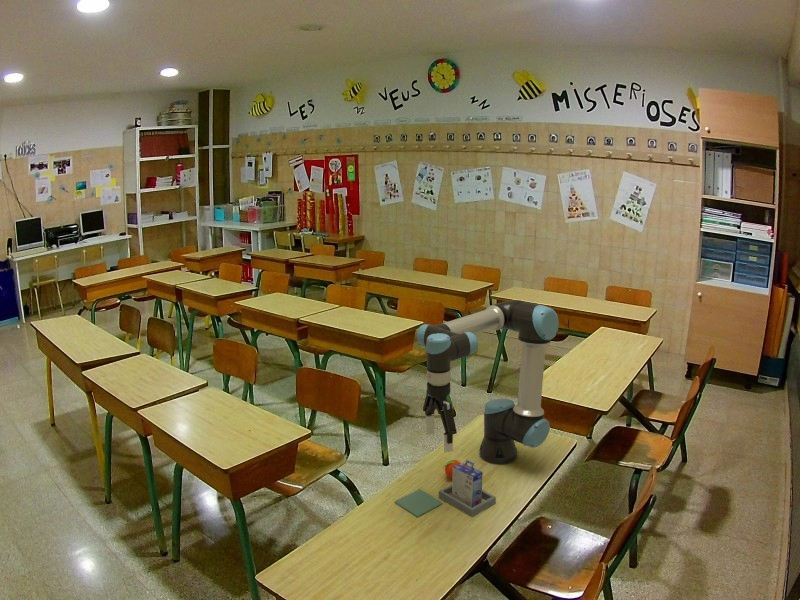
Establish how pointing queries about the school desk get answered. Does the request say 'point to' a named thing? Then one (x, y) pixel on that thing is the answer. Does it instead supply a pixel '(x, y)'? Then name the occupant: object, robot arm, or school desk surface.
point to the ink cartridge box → (467, 484)
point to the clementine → (450, 467)
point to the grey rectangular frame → (463, 507)
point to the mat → (418, 503)
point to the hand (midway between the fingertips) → (439, 442)
